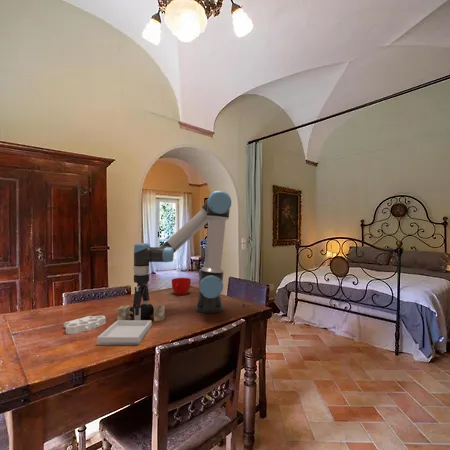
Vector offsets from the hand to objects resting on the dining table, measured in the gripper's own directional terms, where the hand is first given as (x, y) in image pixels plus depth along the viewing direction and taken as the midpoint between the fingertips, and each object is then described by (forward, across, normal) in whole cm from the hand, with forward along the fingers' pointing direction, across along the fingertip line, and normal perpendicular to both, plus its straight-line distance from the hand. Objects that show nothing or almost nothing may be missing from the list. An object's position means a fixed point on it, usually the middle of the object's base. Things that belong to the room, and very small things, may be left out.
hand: (141, 317), depth 142 cm
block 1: (+1, 0, -9) cm, 9 cm away
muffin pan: (+1, +11, -23) cm, 26 cm away
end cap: (+1, 0, 0) cm, 1 cm away
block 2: (+1, 0, +9) cm, 9 cm away
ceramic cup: (+1, -51, +11) cm, 52 cm away
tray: (+1, +21, 0) cm, 21 cm away
